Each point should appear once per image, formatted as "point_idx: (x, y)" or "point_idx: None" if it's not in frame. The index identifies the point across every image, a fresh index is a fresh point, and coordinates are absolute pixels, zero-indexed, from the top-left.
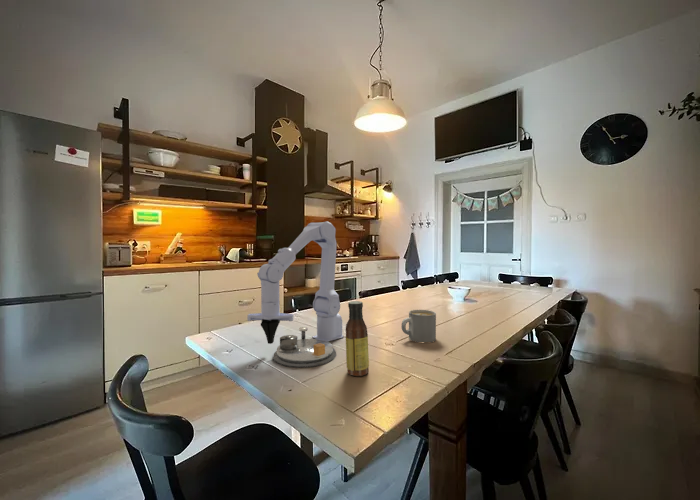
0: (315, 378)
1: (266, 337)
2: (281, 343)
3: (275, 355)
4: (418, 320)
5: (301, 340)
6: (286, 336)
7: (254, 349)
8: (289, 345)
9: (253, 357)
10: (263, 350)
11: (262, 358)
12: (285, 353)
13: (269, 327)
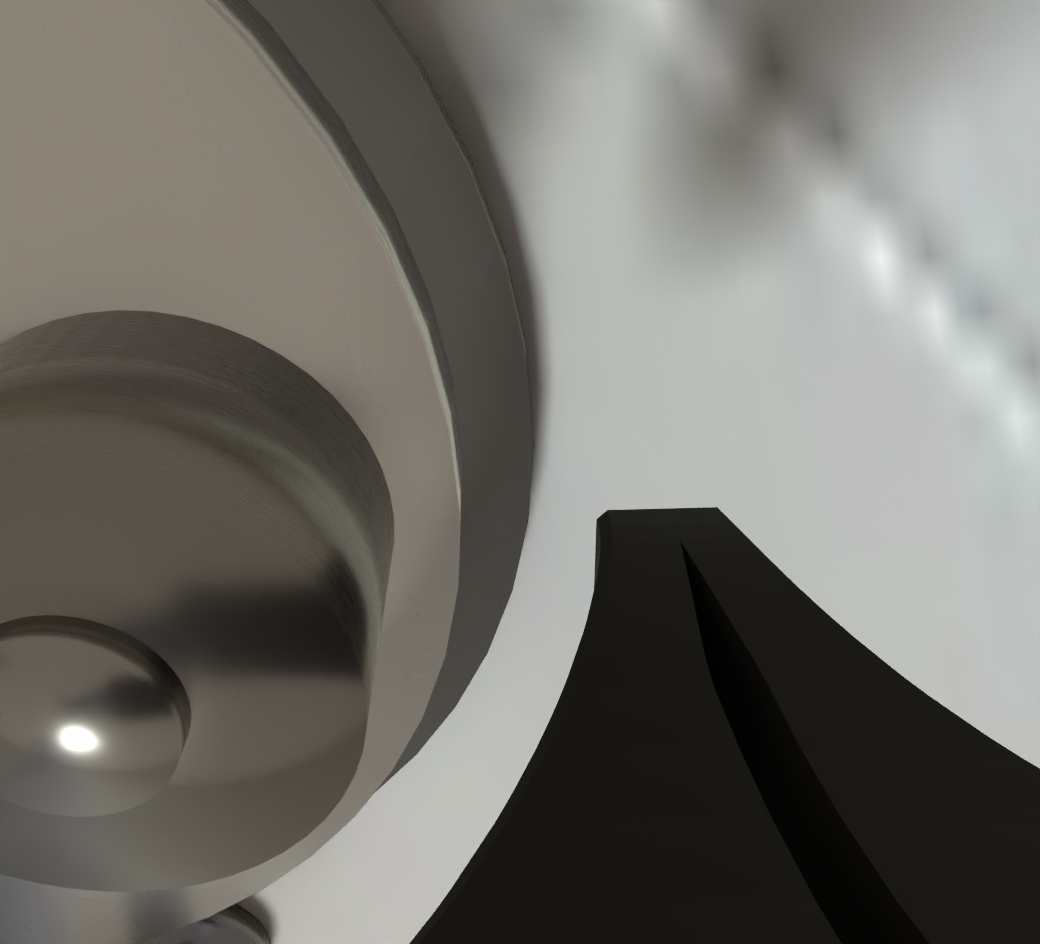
0: None
1: (813, 603)
2: (253, 443)
3: (459, 287)
4: None
5: (82, 896)
6: (131, 728)
7: (1006, 644)
8: None
9: (975, 239)
10: None
11: (752, 190)
12: (32, 60)
13: (792, 892)
